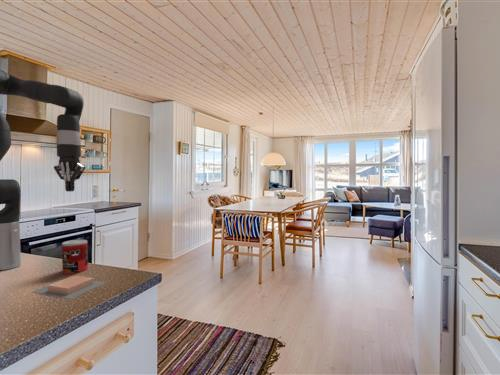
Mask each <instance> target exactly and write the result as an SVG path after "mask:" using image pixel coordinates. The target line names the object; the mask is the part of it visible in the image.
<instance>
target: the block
mask: <svg viewBox="0 0 500 375" xmlns="http://www.w3.org/2000/svg"><path fill="white" fill-rule="evenodd" d="M94 281H95V277H87V276H81V275H80V276H79V275H72V276H69V277H66V278H64V279H61V280H59V281H56V282H53V283H50V284H48V285H47V286H48V291H49V292H55V293H61V294H67V295H69V294H71V293H74V292H76V291H78V290H80V289H83V288H85V287H87V286H90V285H92V284H94Z"/></svg>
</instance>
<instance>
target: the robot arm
mask: <svg viewBox="0 0 500 375" xmlns="http://www.w3.org/2000/svg"><path fill="white" fill-rule="evenodd" d="M0 95H4V96H5V95H7V96H19V97H23V98H27V99H29V100H33V101H36V102H41V103H44V104H50V105H51V104H52V105H55V106H58V107H61V108H65V109H64V110H65V112H64V113H63V114H62V113H61V114H58V115H57V117H56V130H57V131H56V156H57V157H58V158H59V160H58V164H57V165H54V166H53V169H54V171H55V173H56V174H57V176H58V177H59V179H60V180H63V181H64V190H65V191H66V192H74V191H75V186H76V185H75V182H76V180H79V179H80V178H81V177H82V175H83V172H84V171H85V169H86V165H82V164H81V160H80V158H81V157H82V147H81V146H82V143H81V141H82V140H81V139H82V138H81V134H80V132H81V131H80V129H81V128H80V122H81V120H80V119H81V117H82V112H83V109H84V105H85V104H84V98H83V96H82V94H80V92H78V91H76V90H73V89H70V88H68V87H66V86H62V85H58V84H50V83H47V82H43V81H37V80H33V79H28V80H26V79H21V78H18V77H16V76H14V75H11V74H9V73H7V72H6V71H5V70H2V69H0ZM11 147H12V135H11V126H10V125H9V122H8V120H7V119H6V118H5V116H4V114H3V112H1V110H0V162H1V161H2V159H3V158H4V157H5V156H6V154H7V153H8V151H9V150H10V149H11ZM21 195H22V194H21V186H20V184H19V181H18V180H16V179H7V178H6V179H2V178H1V179H0V205H4V207H3V208H2V209H0V271H4V270H5V271H6V270H10V269H14V268H18V267H19V266H21V265H22V264H21V263H22V262H21V232H20V231H21V229H20V224H21V223H20V213H21Z"/></svg>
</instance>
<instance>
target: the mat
mask: <svg viewBox="0 0 500 375" xmlns="http://www.w3.org/2000/svg"><path fill="white" fill-rule="evenodd" d="M105 284H106V282H104V281H99V280H98V281H97V280H94V284H92V285H90V286H87V287H85V288H83V289H80V290H78V291H76V292H74V293H71V294H69V295H67V294H61V293H55V292H49V291H48V285H47V286H44V287H40V288H39V289H36V290H33V291H31V293H33V294H39V295H45V296H52V297H56V298H62V299H69V300H71V299H74V298H75V297H79V296H80V295H82V294H85V293H87V292H89V291H91V290H93V289H96V288H98V287H100V286H102V285H105Z"/></svg>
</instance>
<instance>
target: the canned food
mask: <svg viewBox="0 0 500 375" xmlns="http://www.w3.org/2000/svg"><path fill="white" fill-rule="evenodd" d="M88 244H89V243H88V240H87V239H72V240H71V239H70V240H67V241H64V242H62V243H61V257H62V259H61V262H62V263H61V264H62V267H61V268H62V273H63V274H66V275H73V274H80V273H83V272H85V271H87V270H88V269H89V253H88V252H89V250H88V249H89V248H88V246H89V245H88Z"/></svg>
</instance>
